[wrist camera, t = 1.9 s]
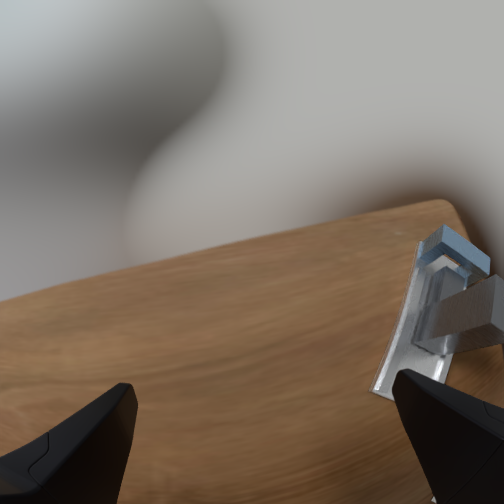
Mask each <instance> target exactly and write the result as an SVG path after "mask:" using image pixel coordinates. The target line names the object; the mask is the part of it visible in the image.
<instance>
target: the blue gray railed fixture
mask: <svg viewBox="0 0 504 504" xmlns="http://www.w3.org/2000/svg"><path fill="white" fill-rule="evenodd" d="M444 254H446V255H448V256H449V257H451V258H452V259H454V260H455V261H457V262H458V263H460V264H461V265H460V266H458V265H457V264H455V263H454V262H452V261H451V260H449V259H448V258H446V257H445V256H443V255H444ZM445 266H447V267H449V268H450V269H452V270H453V271H455V272H456V273H458V274H459V275H461V276H462V277H464V278H465V282H464V289H463V290H465V289H466V287H467V286H469V285H471V284H473V283H475V282H477V281H479V280H481V279H483V278H485V277H487V276H489V269H490V258H489V257H488V256H487V255H485V254H484V253H483V252H482V251H480V250H479V249H478V248H476V247H475V246H474V245H473V244H471V243H470V242H469V241H467V240H466V239H464V238H463V237H462V236H460V235H459V234H458V233H456V232H455V231H453V230H452V229H450V228H449V227H448V226H446V225H445V224H443V225H442V226H441V227H440V228H439V229H437V230H436V231H435V232H434V233H433V234H431V235H430V236H429V237H428V238H426V239H425V240H424V241H423V242H422V241H419V242H418V243H417V244H416V248H415V253H414V257H413V261H412V266H411V270H410V274H409V277H408V281H407V285H406V288H405V292H404V295H403V299H402V302H401V306H400V309H399V312H398V315H397V318H396V321H395V324H394V327H393V330H392V333H391V336H390V339H389V341H388V344H387V347H386V349H385V352H384V355H383V357H382V360H381V362H380V365H379V367H378V369H377V372H376V374H375V377H374V379H373V381H372V383H371V386H370V388H369V390H368V391H369V392H372V393H374V394H377V395H379V396H382V397H384V398H387V399H389V400H392V401H395V400H394V398H393V395H392V386H393V383H394V380H395V377H396V374H397V372H398V371H399V370H402V369H406V368H409V369H412V370H414V371H416V372H418V373H420V374H423V375H425V376H427V377H429V378H431V379H434V380H436V381H438V382H440V383H443V384H444V382H445V379H446V376H447V373H448V370H449V366H450V363H451V360H452V356H453V354H447V355H440V356H438V355H436V354H434V353H432V352H430V351H428V350H426V349H424V348H422V347H420V346H418V345H416V344H414V343H413V342H414V339H415V335H416V332H417V329H418V326H419V322H420V319H421V315H422V311H423V308H424V307H426V306H427V304H428V300H429V295H430V291H431V287H432V282H433V277H434V273H435V272H436V271H438V270H440V269H441V268H443V267H445Z"/></svg>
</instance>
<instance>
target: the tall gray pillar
mask: <svg viewBox="0 0 504 504" xmlns="http://www.w3.org/2000/svg"><path fill="white" fill-rule="evenodd" d="M464 282H465V278H464V277H462V276H461V275H459V274H458V273H456V272H455V271H453V270H452V269H450V268H449V267H447V266H445V267H443V268H441V269H440V270H438V271H436V272H435V273H434V277H433V282H432V287H431V291H430V295H429V300H428V304H427V306H426V307H424V308H423V311H422V315H421V319H420V322H419V326H418V329H417V332H416V335H415V339H414V342H413V343H414V344H416V345H418V346H420V347H422V348H424V349H426V350H428V351H430V352H432V353H434V354H436V355H438V356H440V355H447V354H453V353H459V352H464V351H470V350H475V349H480V348H484V347H489V346H493V345H498V344H502V343H504V280H502V279H501V278H500V277H498V275H496V274H495V275H494V276H492V277H490V278H488V279H486V280H484V281H482V282H480V283H478V284H476V285H474V286H472V287H469V288H467V289H465V290H463V289H464Z"/></svg>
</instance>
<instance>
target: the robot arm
mask: <svg viewBox="0 0 504 504" xmlns="http://www.w3.org/2000/svg"><path fill="white" fill-rule="evenodd" d="M392 395H393V398H394V400H395V403H396V406H397V409H398V412H399V415H400V418H401V421H402V423H403V426H404V428H405V431H406V433H407V435H408V437H409V439H410V441H411V444H412V446H413V448H414V450H415V453H416V455H417V457H418V459H419V462H420V464H421V466H422V469H423V471H424V473H425V476H426V478H427V480H428V483H429V485H430V488H431V490H432V493H433V495H434V498H435V500H436V503H437V504H504V408H501V407H498V406H495V405H493V404H490V403H488V402H485V401H482V400H480V399H478V398H475V397H473V396H471V395H468V394H466V393H464V392H461V391H459V390H456V389H454V388H452V387H450V386H447V385H445V384H443V383H440V382H438V381H436V380H434V379H431V378H429V377H427V376H425V375H423V374H420V373H418V372H416V371H414V370H412V369H409V368H406V369H402V370H399V371H398V372H397V374H396V377H395V380H394V383H393V386H392ZM137 410H138V401H137V398H136V395H135V392H134V389H133V386H132V385H131V384H129V383H118V384H117V385H115V386H114V387H113V388H111V389H110V390H108V391H107V392H105V393H104V394H102V395H101V396H100V397H98V398H97V399H95V400H94V401H92V402H91V403H89V404H88V405H86V406H85V407H84V408H82V409H81V410H79V411H78V412H76V413H75V414H73V415H72V416H70V417H69V418H67V419H66V420H64V421H63V422H61V423H60V424H58V425H57V426H55V427H54V428H52V429H51V430H49V432H46V433H44V434H43V435H41V436H40V437H38V438H36V439H35V440H33V441H31V442H30V443H28V444H26V445H24V446H22V447H20V448H18V449H16V450H14V451H12V452H10V453H8V454H6V455H3V456H1V457H0V504H117V499H118V495H119V491H120V487H121V483H122V479H123V475H124V472H125V468H126V464H127V460H128V457H129V453H130V450H131V446H132V441H133V434H134V428H135V422H136V416H137Z"/></svg>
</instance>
